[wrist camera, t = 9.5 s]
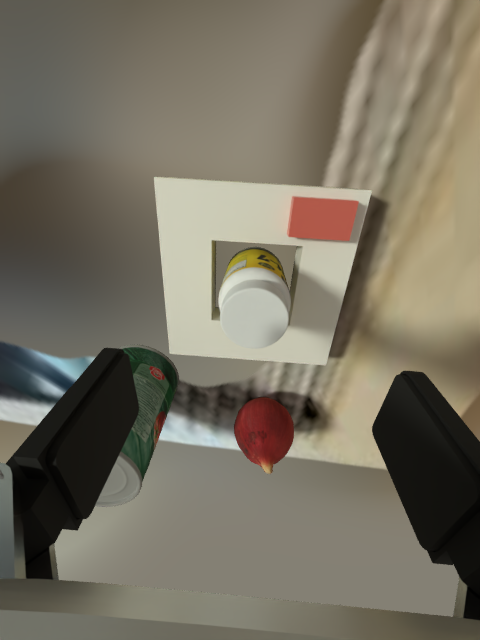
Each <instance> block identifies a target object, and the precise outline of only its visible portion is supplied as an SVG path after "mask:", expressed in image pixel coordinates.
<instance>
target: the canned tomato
mask: <svg viewBox="0 0 480 640" xmlns="http://www.w3.org/2000/svg"><path fill="white" fill-rule="evenodd" d="M118 349H123V351H124V353H126V354H128V355H129V358H130V363H131V368H132V373H133V378H134V383H135V388H136V393H137V398H138V403H139V413H138V416H137V418H136V420H135V423H134V425H133V427H132V429H131V431H130V433H129V435H128V437H127V439H126V441H125V444H124V446H123V448H122V450H121V452H120V454H119V456H118V458H117V460H116V462H115V465H114V467H113V469H112V471H111V473H110V475H109V477H108V479H107V481H106V483H105V486H104V488H103V490H102V492H101V494H100V496H99V498H98V500H97V502H96V504H95V506H101V507H108V506H116V505H122V504H124V503H127V502H129V501H131V500H132V499H133V498H135V497H136V496H137V495H138V493H139V492H140V489H141V487H142V481H143V479H144V475H145V473H146V471H147V469H148V466H149V463H150V460H151V458H152V455H153V452H154V449H155V447H156V443H157V441H158V439H159V435H160V433H161V431H162V428H163V425H164V422H165V419H166V417H167V414H168V411H169V408H170V406H171V403H172V400H173V398H174V394H175V392H176V390H177V388H178V385H179V375H178V372H177V369H176V367H175V365H174V364H173V362H172V361H171V360H170V359H169V358H168V357H167V356H165V355H164V354H162V353H161V352H159V351H157V350H156V349H153V348H150V347H147V346H142V345H127V346H123V347H120V348H118Z"/></svg>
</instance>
